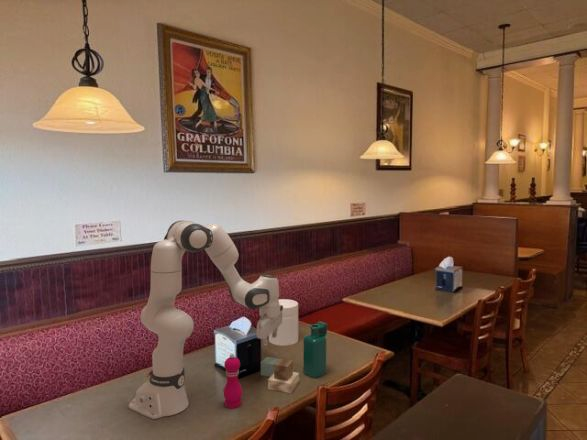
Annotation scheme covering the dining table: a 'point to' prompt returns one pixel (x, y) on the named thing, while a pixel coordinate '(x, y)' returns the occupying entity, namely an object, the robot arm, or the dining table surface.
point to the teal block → (268, 366)
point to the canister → (287, 324)
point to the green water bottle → (315, 350)
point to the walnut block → (283, 369)
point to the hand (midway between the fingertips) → (270, 341)
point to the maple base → (283, 383)
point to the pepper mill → (232, 383)
